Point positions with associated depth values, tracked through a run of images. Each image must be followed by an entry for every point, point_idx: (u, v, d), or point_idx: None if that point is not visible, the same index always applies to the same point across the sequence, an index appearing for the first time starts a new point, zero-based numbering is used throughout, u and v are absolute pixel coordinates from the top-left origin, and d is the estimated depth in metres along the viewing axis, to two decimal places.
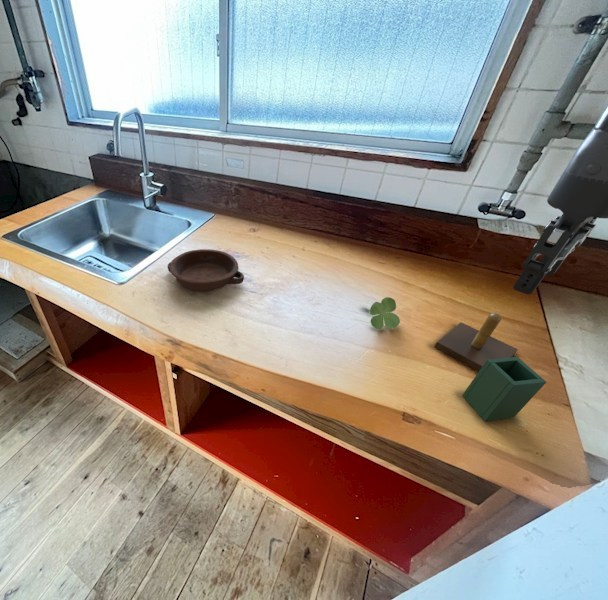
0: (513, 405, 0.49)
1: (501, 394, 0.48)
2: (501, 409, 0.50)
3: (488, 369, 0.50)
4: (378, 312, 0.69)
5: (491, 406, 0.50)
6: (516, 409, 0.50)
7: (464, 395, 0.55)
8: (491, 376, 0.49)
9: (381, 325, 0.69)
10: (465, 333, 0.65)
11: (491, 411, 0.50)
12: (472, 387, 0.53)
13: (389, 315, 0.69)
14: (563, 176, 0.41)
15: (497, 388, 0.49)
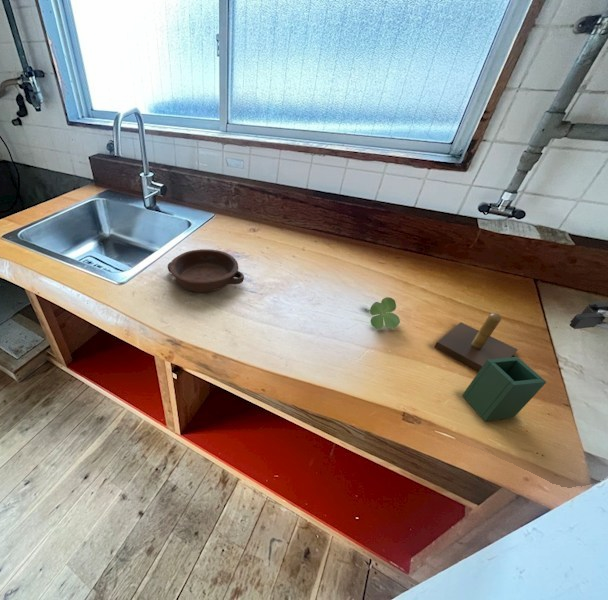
0: (513, 405, 0.49)
1: (501, 394, 0.48)
2: (501, 409, 0.50)
3: (488, 369, 0.50)
4: (378, 312, 0.69)
5: (491, 406, 0.50)
6: (516, 409, 0.50)
7: (464, 395, 0.55)
8: (491, 376, 0.49)
9: (381, 325, 0.69)
10: (465, 333, 0.65)
11: (491, 411, 0.50)
12: (472, 387, 0.53)
13: (389, 315, 0.69)
14: None
15: (497, 388, 0.49)
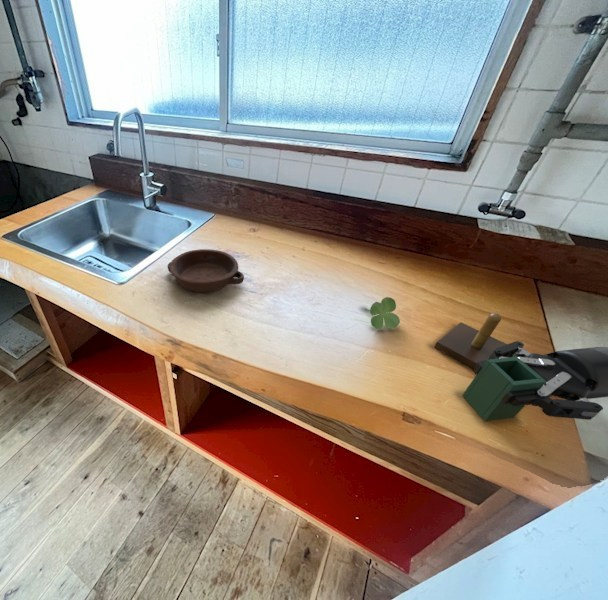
0: None
1: (501, 394, 0.48)
2: (501, 409, 0.50)
3: (488, 369, 0.50)
4: (378, 312, 0.69)
5: (491, 406, 0.50)
6: (516, 409, 0.50)
7: (464, 395, 0.55)
8: (491, 376, 0.49)
9: (381, 325, 0.69)
10: (465, 333, 0.65)
11: (491, 411, 0.50)
12: (472, 387, 0.53)
13: (389, 315, 0.69)
14: None
15: (497, 388, 0.48)
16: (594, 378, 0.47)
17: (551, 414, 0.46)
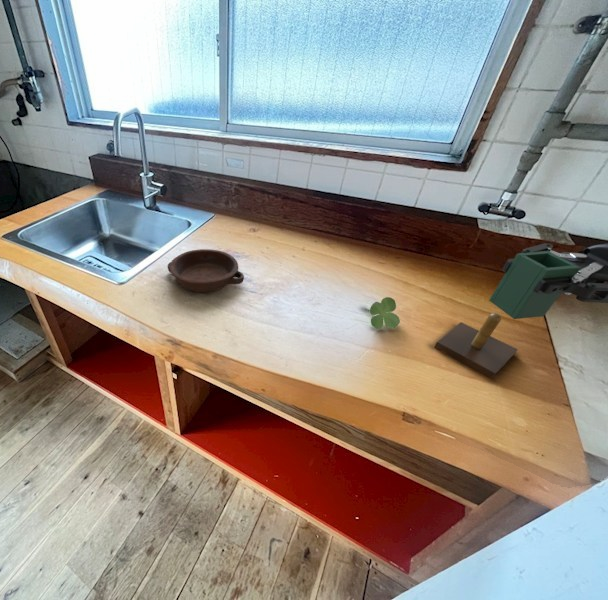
0: (544, 298, 0.48)
1: (533, 284, 0.47)
2: (532, 303, 0.49)
3: (518, 263, 0.49)
4: (378, 312, 0.69)
5: (521, 301, 0.49)
6: (547, 304, 0.49)
7: (491, 299, 0.54)
8: (522, 269, 0.48)
9: (381, 325, 0.69)
10: (465, 333, 0.65)
11: (521, 306, 0.49)
12: (500, 288, 0.52)
13: (389, 315, 0.69)
14: None
15: (529, 280, 0.47)
16: None
17: (586, 299, 0.45)
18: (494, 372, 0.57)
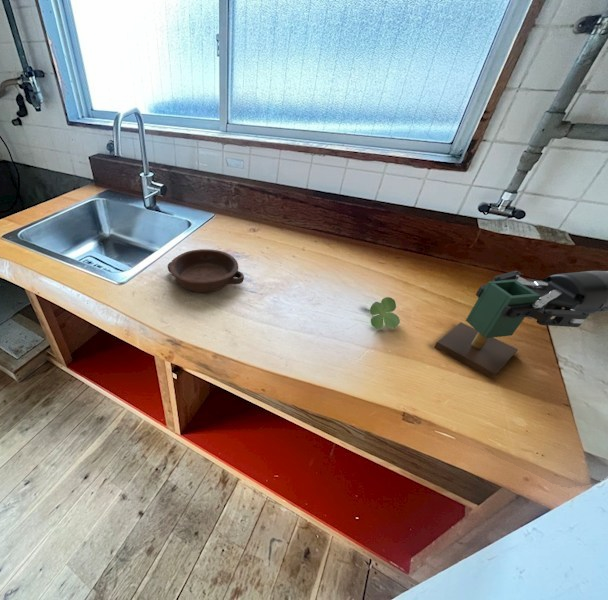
0: (511, 321, 0.56)
1: (500, 309, 0.54)
2: (500, 325, 0.56)
3: (489, 290, 0.56)
4: (378, 312, 0.69)
5: (491, 323, 0.56)
6: (514, 326, 0.56)
7: (467, 319, 0.61)
8: (491, 295, 0.56)
9: (381, 325, 0.69)
10: (465, 333, 0.65)
11: (491, 327, 0.56)
12: (474, 310, 0.59)
13: (389, 315, 0.69)
14: None
15: (497, 305, 0.55)
16: (582, 293, 0.53)
17: (544, 323, 0.52)
18: (494, 372, 0.57)
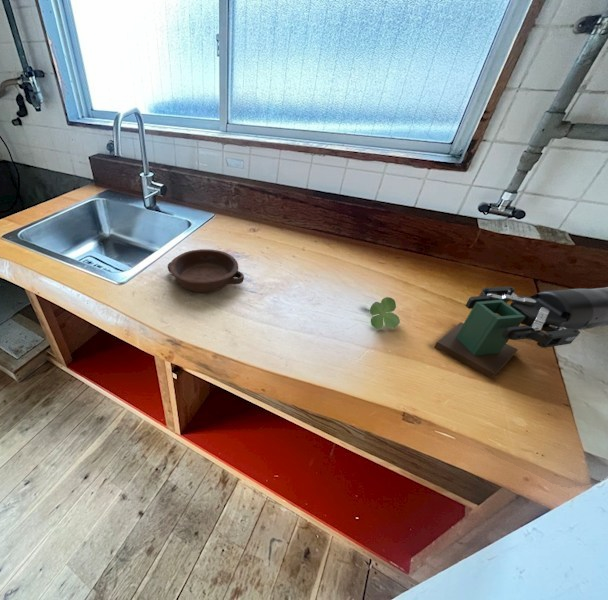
0: (498, 339, 0.58)
1: (487, 329, 0.57)
2: (488, 343, 0.59)
3: (477, 310, 0.59)
4: (378, 312, 0.69)
5: (479, 341, 0.59)
6: (501, 344, 0.59)
7: (457, 337, 0.64)
8: (479, 315, 0.58)
9: (381, 325, 0.69)
10: None
11: (479, 345, 0.59)
12: (464, 328, 0.62)
13: (389, 315, 0.69)
14: None
15: (484, 325, 0.58)
16: (568, 310, 0.55)
17: (545, 345, 0.53)
18: (494, 372, 0.57)
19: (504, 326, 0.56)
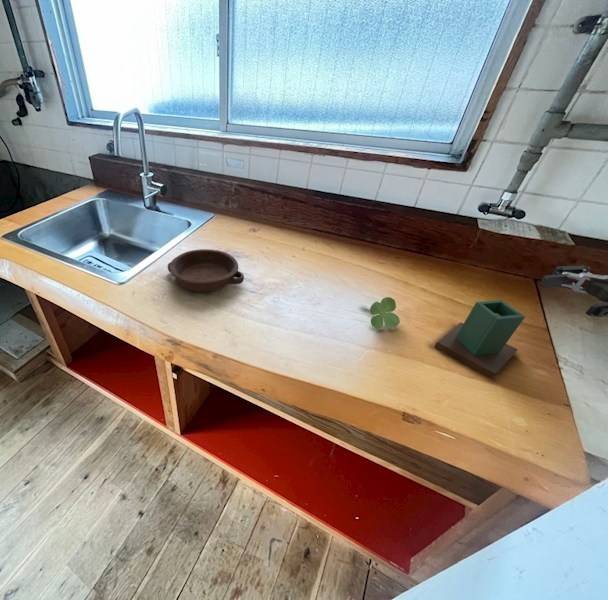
0: (498, 339, 0.58)
1: (487, 329, 0.57)
2: (488, 343, 0.59)
3: (477, 310, 0.59)
4: (378, 312, 0.69)
5: (479, 341, 0.59)
6: (501, 344, 0.59)
7: (457, 337, 0.64)
8: (479, 315, 0.58)
9: (381, 325, 0.69)
10: None
11: (479, 345, 0.59)
12: (464, 328, 0.62)
13: (389, 315, 0.69)
14: None
15: (484, 325, 0.58)
16: None
17: None
18: (494, 372, 0.57)
19: (504, 326, 0.56)
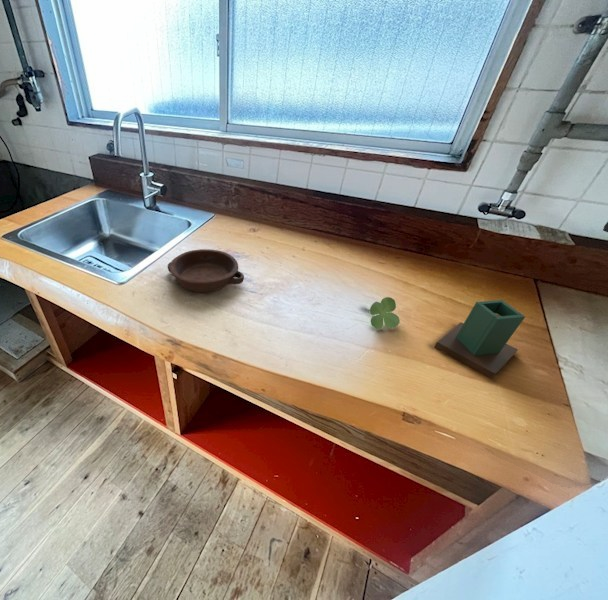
0: (498, 339, 0.58)
1: (487, 329, 0.57)
2: (488, 343, 0.59)
3: (477, 310, 0.59)
4: (378, 312, 0.69)
5: (479, 341, 0.59)
6: (501, 344, 0.59)
7: (457, 337, 0.64)
8: (479, 315, 0.58)
9: (381, 325, 0.69)
10: None
11: (479, 345, 0.59)
12: (464, 328, 0.62)
13: (389, 315, 0.69)
14: None
15: (484, 325, 0.58)
16: None
17: None
18: (494, 372, 0.57)
19: (504, 326, 0.56)
